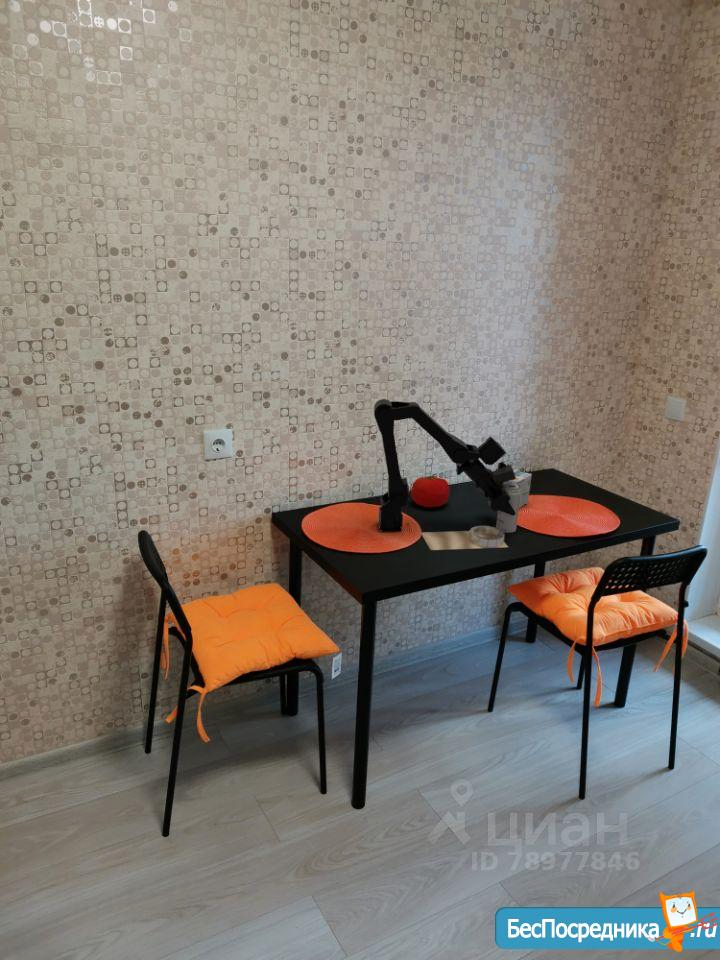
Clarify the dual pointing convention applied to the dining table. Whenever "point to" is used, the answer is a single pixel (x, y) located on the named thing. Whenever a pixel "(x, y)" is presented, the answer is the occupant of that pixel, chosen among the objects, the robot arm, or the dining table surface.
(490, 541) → the ring clip
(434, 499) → the tomato
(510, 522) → the energy drink can
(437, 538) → the plate
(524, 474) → the light bulb box
